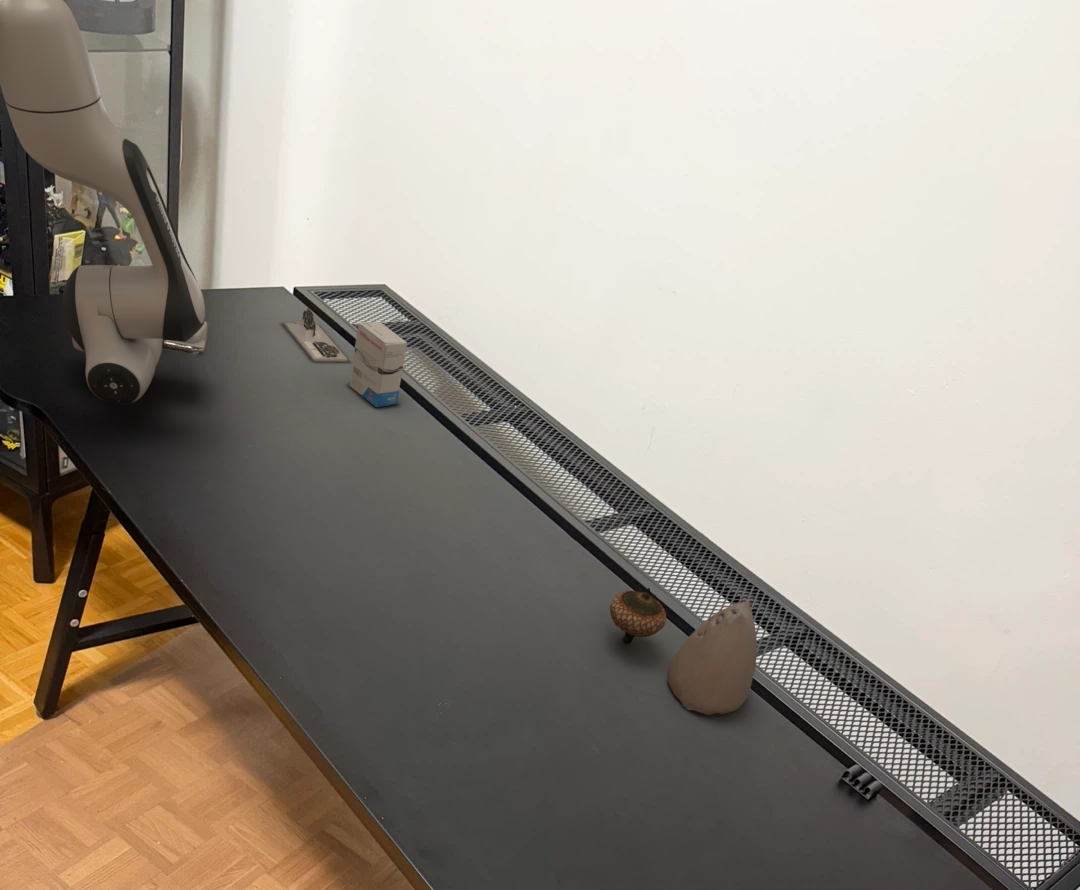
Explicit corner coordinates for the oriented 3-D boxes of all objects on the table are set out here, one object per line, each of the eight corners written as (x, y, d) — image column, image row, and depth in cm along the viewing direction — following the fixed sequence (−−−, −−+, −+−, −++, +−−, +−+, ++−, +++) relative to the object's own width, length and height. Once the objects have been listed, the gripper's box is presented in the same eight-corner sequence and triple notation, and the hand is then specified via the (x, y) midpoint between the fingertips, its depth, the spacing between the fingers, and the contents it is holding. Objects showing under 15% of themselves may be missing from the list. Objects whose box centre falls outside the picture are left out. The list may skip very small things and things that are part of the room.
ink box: (398, 405, 183) (409, 342, 175) (375, 408, 180) (386, 344, 172) (370, 382, 187) (380, 320, 179) (347, 385, 183) (356, 321, 176)
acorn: (610, 663, 142) (633, 606, 135) (589, 626, 147) (610, 569, 141) (661, 662, 145) (685, 606, 139) (639, 625, 150) (661, 570, 144)
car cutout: (284, 325, 195) (286, 301, 192) (316, 325, 199) (319, 303, 196) (314, 361, 187) (316, 337, 184) (347, 361, 191) (350, 338, 188)
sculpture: (662, 653, 147) (698, 567, 137) (738, 670, 149) (780, 587, 139) (668, 710, 137) (708, 623, 127) (750, 728, 139) (795, 643, 129)
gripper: (204, 334, 156) (214, 299, 166) (60, 305, 151) (79, 271, 161) (202, 372, 160) (212, 336, 170) (62, 346, 155) (80, 310, 165)
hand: (146, 304), depth 165 cm, fingers open, 8 cm apart
